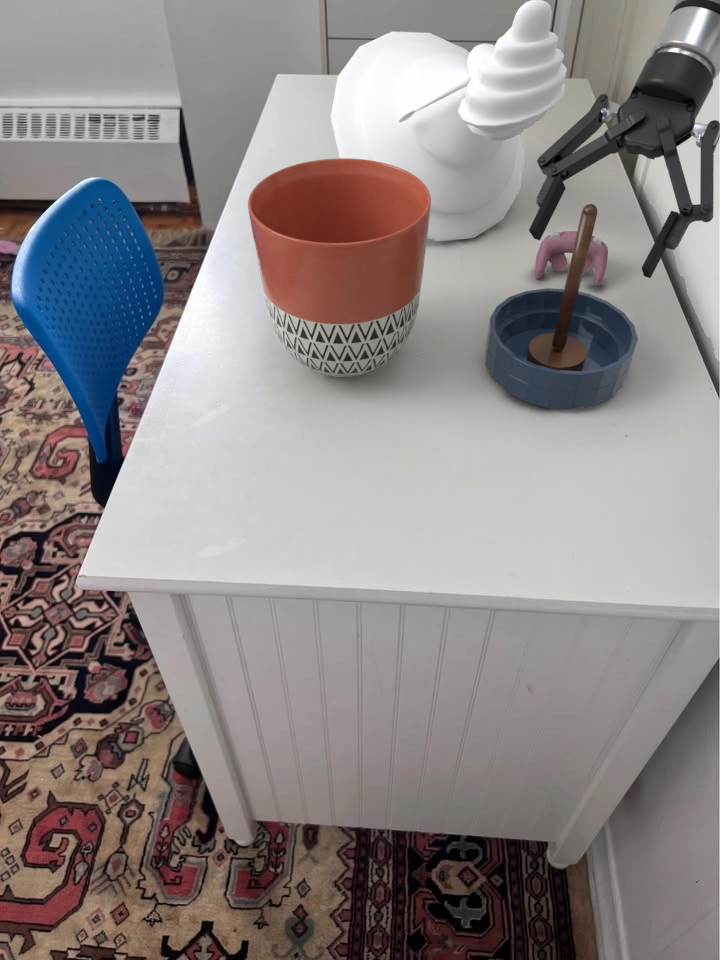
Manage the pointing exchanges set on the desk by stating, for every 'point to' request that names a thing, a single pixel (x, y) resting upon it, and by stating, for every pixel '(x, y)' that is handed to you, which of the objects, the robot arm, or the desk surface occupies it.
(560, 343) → the masher
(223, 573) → the desk surface
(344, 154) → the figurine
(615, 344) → the bowl
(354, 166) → the planter
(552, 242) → the video game controller
